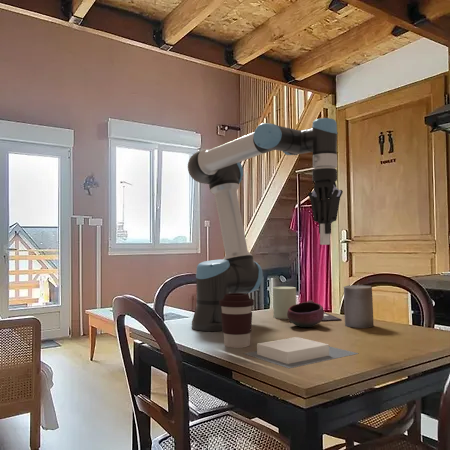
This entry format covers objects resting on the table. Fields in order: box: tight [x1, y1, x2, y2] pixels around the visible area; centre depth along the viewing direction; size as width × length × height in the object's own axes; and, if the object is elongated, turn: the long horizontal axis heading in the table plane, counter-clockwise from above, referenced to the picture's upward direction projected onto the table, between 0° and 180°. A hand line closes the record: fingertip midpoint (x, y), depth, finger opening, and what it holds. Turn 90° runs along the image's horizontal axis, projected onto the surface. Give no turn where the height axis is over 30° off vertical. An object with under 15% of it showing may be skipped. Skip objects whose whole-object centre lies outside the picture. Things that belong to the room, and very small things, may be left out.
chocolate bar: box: [321, 311, 342, 322], centre depth 185 cm, size 9×1×18 cm
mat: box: [243, 345, 359, 369], centre depth 125 cm, size 18×24×1 cm
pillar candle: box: [343, 282, 374, 329], centre depth 167 cm, size 10×10×15 cm
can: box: [272, 286, 297, 320], centre depth 187 cm, size 9×9×12 cm
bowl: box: [287, 299, 325, 328], centre depth 168 cm, size 16×13×8 cm
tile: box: [256, 336, 330, 364], centre depth 123 cm, size 12×3×14 cm
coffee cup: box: [219, 293, 255, 349], centre depth 136 cm, size 10×10×15 cm
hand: (325, 244), depth 148 cm, fingers closed
